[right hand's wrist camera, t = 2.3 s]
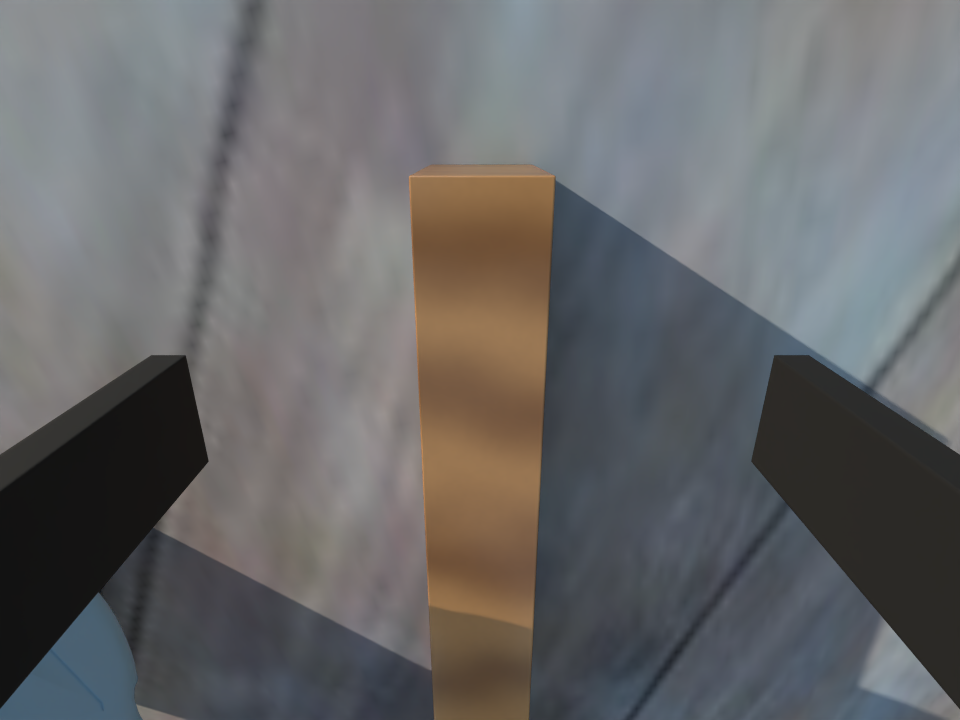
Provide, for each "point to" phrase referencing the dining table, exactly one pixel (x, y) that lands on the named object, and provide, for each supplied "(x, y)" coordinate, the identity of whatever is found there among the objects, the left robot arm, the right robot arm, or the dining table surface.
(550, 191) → the post
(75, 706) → the left robot arm
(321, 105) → the dining table surface
